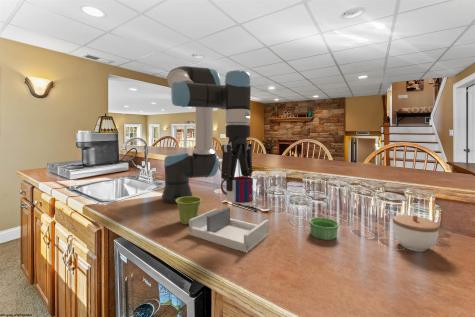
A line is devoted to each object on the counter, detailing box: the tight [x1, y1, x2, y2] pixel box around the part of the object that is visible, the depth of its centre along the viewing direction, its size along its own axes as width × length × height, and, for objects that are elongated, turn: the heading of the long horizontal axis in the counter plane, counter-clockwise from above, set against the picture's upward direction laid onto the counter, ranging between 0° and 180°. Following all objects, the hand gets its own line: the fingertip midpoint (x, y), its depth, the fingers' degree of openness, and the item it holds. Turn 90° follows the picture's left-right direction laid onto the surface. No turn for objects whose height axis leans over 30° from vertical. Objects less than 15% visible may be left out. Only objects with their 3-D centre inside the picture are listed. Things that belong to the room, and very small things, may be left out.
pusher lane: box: [188, 208, 270, 254], centre depth 76 cm, size 22×14×5 cm, turn 57°
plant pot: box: [176, 196, 203, 225], centre depth 87 cm, size 9×9×9 cm
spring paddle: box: [207, 206, 231, 233], centre depth 78 cm, size 1×11×6 cm, turn 147°
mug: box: [220, 175, 254, 204], centre depth 72 cm, size 7×10×7 cm
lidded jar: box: [392, 214, 440, 253], centre depth 68 cm, size 11×11×9 cm
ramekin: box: [309, 216, 340, 241], centre depth 76 cm, size 9×9×4 cm
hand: (237, 198), depth 73 cm, fingers closed on mug, 7 cm apart
